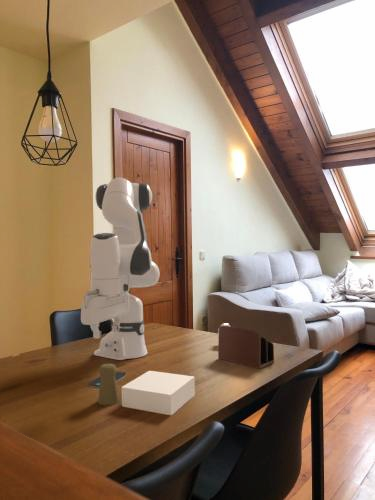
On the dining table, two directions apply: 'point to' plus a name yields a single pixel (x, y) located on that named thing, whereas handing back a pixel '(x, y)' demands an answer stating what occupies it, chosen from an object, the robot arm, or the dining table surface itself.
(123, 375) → the smartphone
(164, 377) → the white block
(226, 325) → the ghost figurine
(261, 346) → the letter holder
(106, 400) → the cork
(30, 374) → the dining table surface
